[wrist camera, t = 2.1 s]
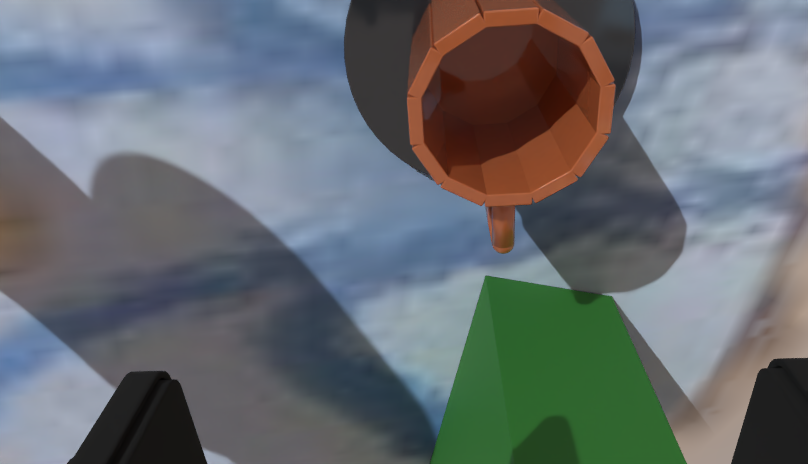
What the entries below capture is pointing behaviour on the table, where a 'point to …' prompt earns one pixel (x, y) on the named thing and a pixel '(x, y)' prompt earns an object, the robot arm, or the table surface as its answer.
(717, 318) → the table surface
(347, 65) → the saucer
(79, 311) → the table surface
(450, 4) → the wooden mug
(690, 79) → the table surface
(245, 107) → the table surface
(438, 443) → the hardback book
